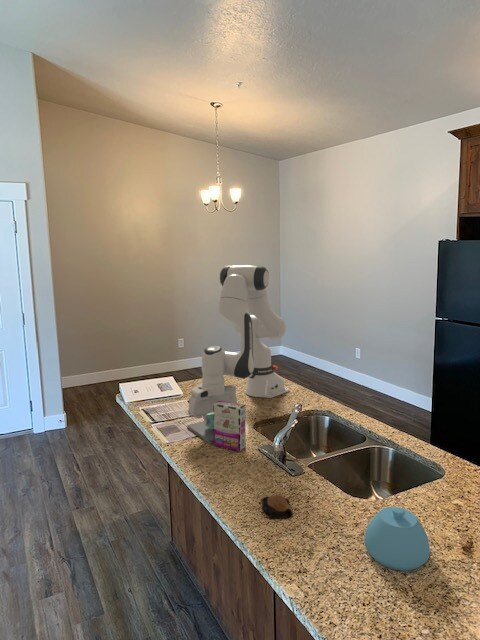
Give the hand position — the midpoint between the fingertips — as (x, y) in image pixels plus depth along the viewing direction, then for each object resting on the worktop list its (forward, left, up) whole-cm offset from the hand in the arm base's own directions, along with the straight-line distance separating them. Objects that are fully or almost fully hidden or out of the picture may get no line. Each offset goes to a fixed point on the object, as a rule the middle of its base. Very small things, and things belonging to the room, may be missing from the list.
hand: (213, 421), depth 183 cm
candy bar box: (+2, +15, -4) cm, 16 cm away
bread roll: (+12, +56, -5) cm, 58 cm away
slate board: (0, 0, -4) cm, 4 cm away
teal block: (0, 0, -2) cm, 2 cm away
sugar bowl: (0, +87, -4) cm, 87 cm away
